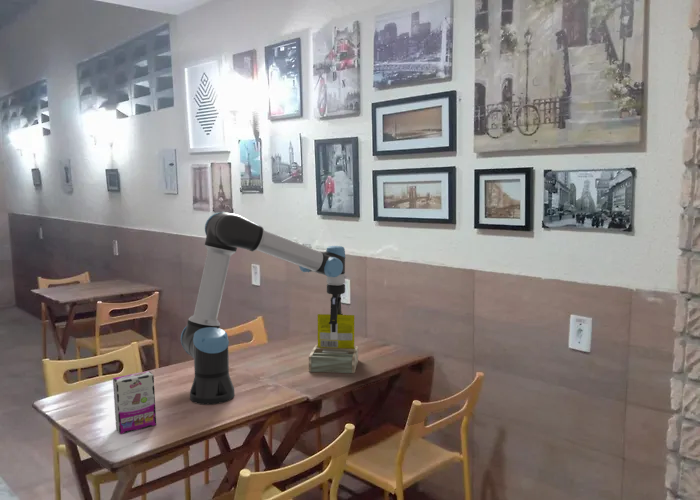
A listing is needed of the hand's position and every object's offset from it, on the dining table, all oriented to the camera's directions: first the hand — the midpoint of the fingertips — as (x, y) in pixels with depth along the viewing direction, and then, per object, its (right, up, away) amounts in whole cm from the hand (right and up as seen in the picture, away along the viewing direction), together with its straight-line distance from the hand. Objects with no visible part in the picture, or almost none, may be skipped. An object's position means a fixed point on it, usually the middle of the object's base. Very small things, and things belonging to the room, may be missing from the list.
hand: (335, 335), depth 244 cm
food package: (0, -11, +1) cm, 11 cm away
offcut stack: (-1, -12, -4) cm, 12 cm away
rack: (-1, -12, -4) cm, 12 cm away
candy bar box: (-60, -19, -63) cm, 89 cm away
